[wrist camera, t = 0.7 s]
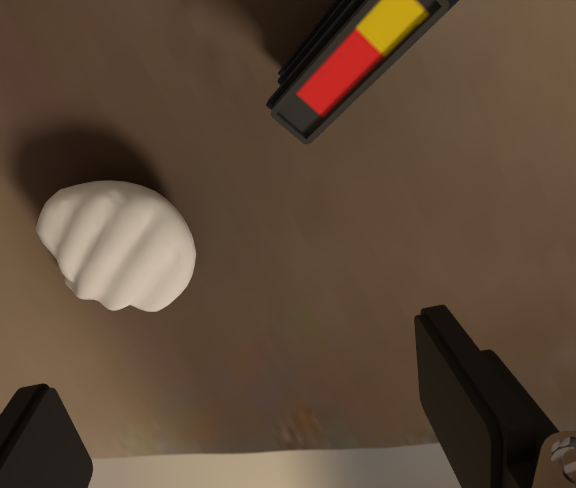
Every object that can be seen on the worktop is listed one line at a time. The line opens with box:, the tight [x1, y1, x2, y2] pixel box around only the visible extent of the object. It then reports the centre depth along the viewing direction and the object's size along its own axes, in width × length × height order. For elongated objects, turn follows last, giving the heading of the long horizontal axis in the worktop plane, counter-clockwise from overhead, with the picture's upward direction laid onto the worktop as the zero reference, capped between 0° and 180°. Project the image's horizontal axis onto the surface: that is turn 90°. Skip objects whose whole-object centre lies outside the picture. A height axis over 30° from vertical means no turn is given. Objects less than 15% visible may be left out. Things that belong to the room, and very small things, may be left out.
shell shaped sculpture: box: [36, 180, 196, 311], centre depth 37 cm, size 13×13×6 cm
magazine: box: [266, 0, 459, 144], centre depth 30 cm, size 4×13×15 cm, turn 140°
